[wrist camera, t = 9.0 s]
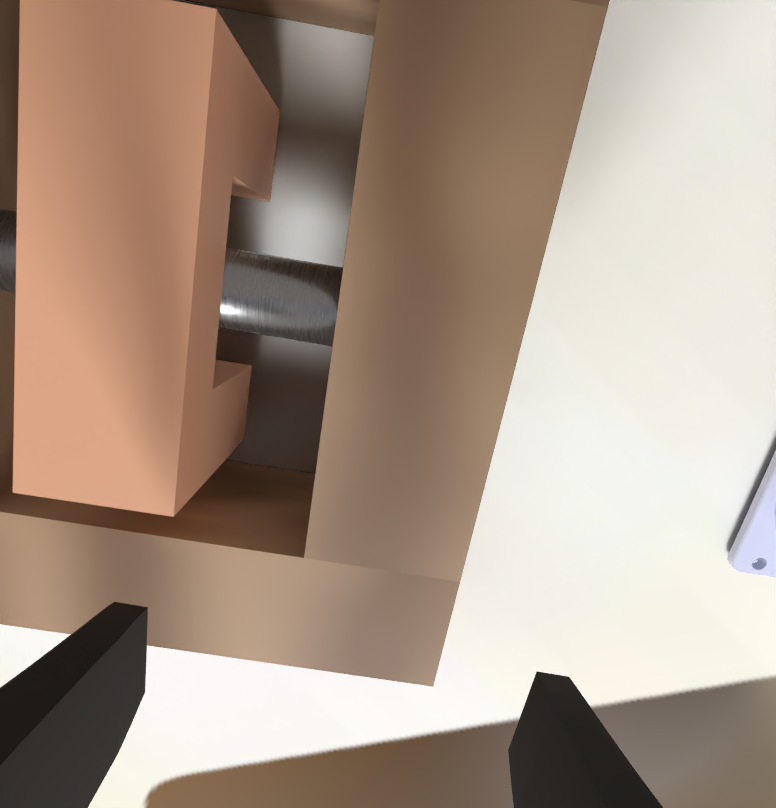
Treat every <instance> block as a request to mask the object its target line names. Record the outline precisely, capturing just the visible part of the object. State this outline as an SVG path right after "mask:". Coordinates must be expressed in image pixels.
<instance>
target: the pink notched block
mask: <svg viewBox="0 0 776 808" xmlns="http://www.w3.org/2000/svg"><path fill="white" fill-rule="evenodd" d="M279 116H280V110H279V109H278V107H277V106H276V104H275V102H274V101H273V99H272V97H271V96H270V94H269V93H268V91H267V89H266V88H265V86H264V85H263V83H262V81H261V80H260V78H259V77H258V75H257V73H256V72H255V70H254V69H253V67H252V65H251V64H250V62H249V60H248V59H247V57H246V56H245V54H244V52H243V51H242V49H241V48H240V46H239V44H238V43H237V41H236V40H235V38H234V36H233V35H232V33H231V32H230V30H229V28H228V27H227V25H226V23H225V22H224V20H223V19H222V17H221V15H220V14H219V12H218V11H217V9H215V8H210V7H205V6H199V5H194V4H188V3H183V2H178V1H172V0H20V28H19V96H18V165H17V233H16V302H15V370H14V439H13V493H18V494H25V495H31V496H38V497H45V498H51V499H58V500H65V501H71V502H78V503H85V504H92V505H98V506H105V507H112V508H118V509H125V510H132V511H138V512H145V513H152V514H158V515H165V516H172V517H174V516H175V515H176V514H177V512H178V511H179V510H180V509H181V508H182V507H183V506H184V505H185V504H186V503H187V502H188V500H189V499H190V498H191V497H192V496H193V495H194V494H195V493H196V492H197V491H198V489H199V488H200V487H201V486H202V485H203V484H204V483H205V482H206V481H207V480H208V478H209V477H210V476H211V475H212V474H213V473H214V472H215V471H216V470H217V469H218V468H219V466H220V465H221V464H222V463H223V462H224V461H225V460H226V459H227V458H228V457H229V455H230V454H231V453H232V452H233V451H234V450H235V449H236V448H237V447H238V446H239V444H240V443H241V442H242V441H243V440H244V433H245V424H246V415H247V406H248V396H249V387H250V378H251V369H252V365H246V364H240V363H234V362H228V361H222V360H215V359H216V348H217V338H218V327H219V317H220V306H221V296H222V285H223V275H224V265H225V254H226V244H227V233H228V223H229V212H230V202H231V195H235V196H241V197H246V198H252V199H258V200H264V201H270V198H271V189H272V180H273V171H274V162H275V153H276V144H277V134H278V125H279Z"/></svg>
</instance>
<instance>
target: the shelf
mask: <svg viewBox="0 0 776 808" xmlns="http://www.w3.org/2000/svg"><path fill="white" fill-rule="evenodd" d="M188 1H193V2H198V3H203V4H209V5H214V6H219V7H224V8H230V9H235V10H240V11H246V12H251V13H256V14H261V15H267V16H272V17H277V18H282V19H288V20H293V21H298V22H304V23H309V24H314V25H319V26H325V27H330V28H335V29H340V30H346V31H351V32H356V33H362V34H367V35H372V36H374V44H373V51H372V59H371V66H370V73H369V81H368V88H367V96H366V103H365V110H364V118H363V125H362V133H361V140H360V148H359V155H358V162H357V170H356V177H355V185H354V192H353V199H352V207H351V214H350V222H349V229H348V236H347V244H346V251H345V259H344V266H343V268H341V267H335V266H330V265H324V264H318V263H312V262H307V261H301V260H295V259H289V258H283V257H278V256H272V255H266V254H260V253H254V252H249V251H243V250H237V249H231V248H226V254H225V265H224V275H223V285H222V296H221V306H220V317H219V327H220V328H226V329H232V330H238V331H244V332H250V333H256V334H262V335H268V336H274V337H280V338H286V339H292V340H298V341H304V342H310V343H316V344H322V345H328V346H333V347H332V355H331V362H330V370H329V377H328V384H327V392H326V399H325V407H324V414H323V421H322V429H321V436H320V444H319V451H318V458H317V466H316V473H315V474H312V473H305V472H299V471H293V470H286V469H280V468H274V467H267V466H261V465H255V464H248V463H242V462H236V461H229V460H225V461H224V462H223V463H222V464H221V465H220V466H219V468H218V469H217V470H216V471H215V472H214V473H213V474H212V475H211V476H210V477H209V478H208V480H207V481H206V482H205V483H204V484H203V485H202V486H201V487H200V488H199V489H198V491H197V492H196V493H195V494H194V495H193V496H192V497H191V498H190V499H189V500H188V502H187V503H186V504H185V505H184V506H183V507H182V508H181V509H180V510H179V511H178V512H177V514H176V515H175V516H174V517H172V516H165V515H158V514H152V513H145V512H138V511H132V510H125V509H118V508H112V507H105V506H98V505H92V504H85V503H78V502H71V501H65V500H58V499H51V498H45V497H38V496H31V495H25V494H18V493H13V439H14V370H15V302H16V233H17V165H18V96H19V28H20V0H0V624H4V625H10V626H17V627H24V628H31V629H38V630H45V631H52V632H59V633H66V634H72V633H74V632H75V631H76V630H78V629H79V628H80V627H81V626H83V625H84V624H85V623H86V622H88V621H89V620H90V619H92V618H93V617H94V616H95V615H97V614H98V613H99V612H101V611H102V610H103V609H105V608H106V607H107V606H108V605H110V604H112V603H113V602H119V603H125V604H131V605H137V606H143V607H148V622H147V645H149V646H156V647H163V648H170V649H177V650H184V651H191V652H198V653H205V654H212V655H219V656H226V657H232V658H239V659H246V660H253V661H260V662H267V663H274V664H281V665H288V666H295V667H302V668H309V669H316V670H323V671H330V672H337V673H343V674H350V675H357V676H364V677H371V678H378V679H385V680H392V681H399V682H406V683H413V684H420V685H427V686H433V685H434V681H435V677H436V673H437V669H438V665H439V661H440V657H441V653H442V650H443V646H444V642H445V638H446V634H447V630H448V626H449V622H450V618H451V615H452V611H453V607H454V603H455V599H456V595H457V591H458V587H459V584H460V580H461V576H462V572H463V568H464V564H465V560H466V556H467V552H468V549H469V545H470V541H471V537H472V533H473V529H474V525H475V521H476V517H477V514H478V510H479V506H480V502H481V498H482V494H483V490H484V486H485V482H486V479H487V475H488V471H489V467H490V463H491V459H492V455H493V451H494V448H495V444H496V440H497V436H498V432H499V428H500V424H501V420H502V416H503V413H504V409H505V405H506V401H507V397H508V393H509V389H510V385H511V381H512V378H513V374H514V370H515V366H516V362H517V358H518V354H519V350H520V347H521V343H522V339H523V335H524V331H525V327H526V323H527V319H528V315H529V312H530V308H531V304H532V300H533V296H534V292H535V288H536V284H537V280H538V277H539V273H540V269H541V265H542V261H543V257H544V253H545V249H546V245H547V242H548V238H549V234H550V230H551V226H552V222H553V218H554V214H555V211H556V207H557V203H558V199H559V195H560V191H561V187H562V183H563V179H564V176H565V172H566V168H567V164H568V160H569V156H570V152H571V148H572V144H573V141H574V137H575V133H576V129H577V125H578V121H579V117H580V113H581V109H582V106H583V102H584V98H585V94H586V90H587V86H588V82H589V78H590V75H591V71H592V67H593V63H594V59H595V55H596V51H597V47H598V43H599V40H600V36H601V32H602V28H603V24H604V20H605V16H606V12H607V8H608V5H609V1H610V0H188Z"/></svg>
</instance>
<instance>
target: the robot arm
mask: <svg viewBox="0 0 776 808" xmlns="http://www.w3.org/2000/svg"><path fill="white" fill-rule="evenodd" d="M758 558H760V559H759V560H758V561H757V562H755V563H753V562H754V561H755V560H756V559H758ZM728 562H729V564H730V565H731V566H732V567H733V568H734V569H735V570H736V571H739V572H743V573H749V574H755V575H762V576H768V577H775V578H776V451H775V453H774V455H773V457H772V460H771V462H770V464H769V466H768V468H767V471H766V473H765V475H764V477H763V479H762V482H761V484H760V486H759V488H758V490H757V493H756V495H755V497H754V499H753V501H752V504H751V506H750V508H749V510H748V512H747V515H746V517H745V519H744V521H743V523H742V526H741V528H740V530H739V532H738V534H737V537H736V539H735V541H734V543H733V545H732V548H731V550H730V552H729V554H728ZM147 622H148V607H143V606H137V605H131V604H125V603H119V602H113V603H112V604H110V605H108V606H107V607H106V608H105V609H103V610H102V611H101V612H99V613H98V614H97V615H95V616H94V617H93V618H92V619H90V620H89V621H88V622H86V623H85V624H84V625H83V626H81V627H80V628H79V629H78V630H76V631H75V632H74V633H72V634H71V635H70V636H69V637H67V638H66V639H65V640H63V641H62V642H61V643H60V644H58V645H57V646H56V647H54V648H53V649H52V650H50V651H49V652H48V653H46V654H45V655H44V656H43V657H41V658H40V659H39V660H37V661H36V662H35V663H33V664H32V665H31V666H29V667H28V668H26V669H25V670H24V671H22V672H21V673H20V674H18V675H17V676H16V677H14V678H13V679H12V680H10V681H9V682H8V683H6V684H5V685H3V686H2V687H1V688H0V808H88V806H89V804H90V802H91V801H92V799H93V797H94V795H95V794H96V792H97V790H98V788H99V786H100V785H101V783H102V781H103V779H104V778H105V776H106V774H107V772H108V770H109V769H110V767H111V765H112V763H113V761H114V760H115V758H116V756H117V754H118V752H119V750H120V748H121V746H122V743H123V741H124V739H125V737H126V734H127V732H128V730H129V728H130V726H131V723H132V721H133V719H134V716H135V714H136V712H137V709H138V707H139V705H140V702H141V700H142V698H143V695H144V693H145V676H146V649H147ZM508 751H509V762H510V773H511V785H512V794H513V802H514V808H663V807H662V806H661V805H660V803H659V802H658V800H657V799H656V798H655V796H654V795H653V794H652V792H651V791H650V790H649V788H648V787H647V786H646V784H645V783H644V782H643V780H642V779H641V778H640V776H639V775H638V774H637V772H636V771H635V769H634V768H633V767H632V765H631V764H630V763H629V761H628V760H627V758H626V757H625V756H624V754H623V753H622V751H621V750H620V749H619V747H618V746H617V744H616V743H615V742H614V740H613V739H612V737H611V736H610V735H609V733H608V732H607V730H606V729H605V727H604V726H603V725H602V723H601V722H600V720H599V719H598V718H597V716H596V715H595V713H594V712H593V710H592V709H591V707H590V706H589V704H588V703H587V702H586V700H585V699H584V697H583V696H582V694H581V693H580V692H579V690H578V689H577V687H576V686H575V685H574V683H573V682H572V680H571V679H570V678H569V677H566V676H560V675H554V674H548V673H542V672H537V673H536V675H535V678H534V681H533V684H532V686H531V689H530V692H529V695H528V697H527V700H526V703H525V706H524V708H523V711H522V714H521V717H520V720H519V722H518V725H517V728H516V731H515V733H514V736H513V739H512V742H511V744H510V747H509V750H508Z"/></svg>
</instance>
